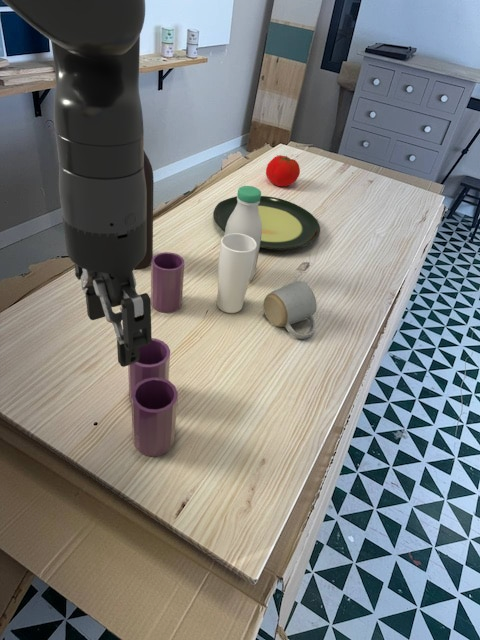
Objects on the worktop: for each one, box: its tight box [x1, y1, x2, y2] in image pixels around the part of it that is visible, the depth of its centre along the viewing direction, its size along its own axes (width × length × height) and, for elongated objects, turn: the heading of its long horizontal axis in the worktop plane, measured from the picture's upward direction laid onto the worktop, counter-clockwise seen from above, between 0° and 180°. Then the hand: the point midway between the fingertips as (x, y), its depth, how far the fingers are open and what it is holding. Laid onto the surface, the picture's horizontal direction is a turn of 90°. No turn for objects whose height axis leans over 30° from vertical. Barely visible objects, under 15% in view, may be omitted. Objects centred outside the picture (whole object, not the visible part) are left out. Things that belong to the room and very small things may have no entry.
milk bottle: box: [223, 185, 262, 282], centre depth 97 cm, size 8×8×20 cm
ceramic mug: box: [263, 280, 317, 340], centre depth 90 cm, size 11×8×8 cm
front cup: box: [131, 377, 179, 457], centre depth 65 cm, size 6×6×10 cm
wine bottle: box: [134, 150, 155, 270], centre depth 93 cm, size 7×7×30 cm
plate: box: [212, 195, 321, 251], centre depth 121 cm, size 28×28×2 cm
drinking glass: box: [216, 233, 257, 314], centre depth 90 cm, size 7×7×15 cm
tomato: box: [265, 154, 301, 187], centre depth 141 cm, size 9×10×8 cm
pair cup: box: [127, 337, 171, 405], centre depth 71 cm, size 6×6×10 cm
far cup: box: [150, 251, 186, 314], centre depth 89 cm, size 6×6×10 cm
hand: (112, 338), depth 53 cm, fingers open, 8 cm apart
